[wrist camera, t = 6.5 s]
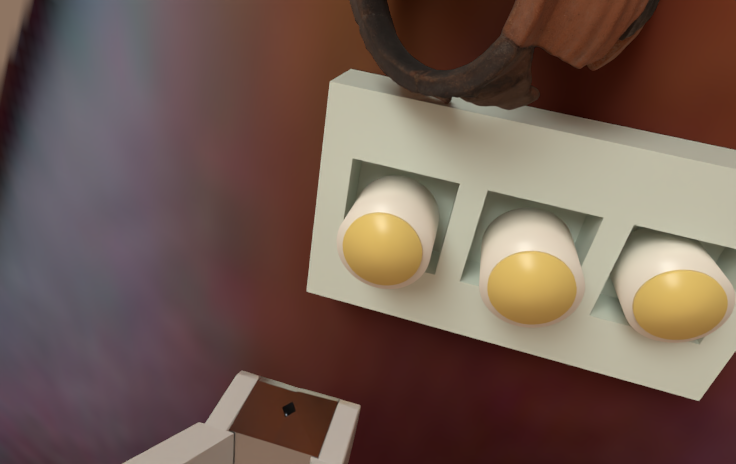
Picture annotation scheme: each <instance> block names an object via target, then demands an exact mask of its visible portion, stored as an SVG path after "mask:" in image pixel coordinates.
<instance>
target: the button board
mask: <svg viewBox="0 0 736 464" xmlns="http://www.w3.org/2000/svg"><path fill="white" fill-rule="evenodd" d="M390 175H400V176H405V177H409V178H412V179H414V180H416V181H418V182H419V183H421V184H422V185H424V186H425V187H426V188H427V189H428V190H429V191H430V192H431V194H432V195H433V197H434V198H435V200H436V202H437V205H438V209H439V224H438V229H437V233H436V237H435V241H434V245H433V249H432V253H431V258H430V262H429V264H428V267H427V269H426V271H425V272H424V273H423V275H422V276H421V277H420V278H419V279H418V280H416V281H415V282H414V283H412V284H410V285H408V286H405V287H402V288H397V289H381V288H376V287H373V286H370V285H367V284H365V283H363V282H361V281H360V280H358V279H357V278H355V277H354V276H353V275H352V274H351V273H350V272H349V271H348V270H347V269H346V268H345V266H344V265H343V263H342V261H341V259H340V257H339V254H338V251H337V243H336V241H337V233H338V230H339V227H340V225H341V224H342V222H343V220H344V219H345V217H346V216H347V214H348V213H349V211H350V210H351V208H352V206H353V205H354V203H355V202H356V200H357V199H358V197H359V196H360V194H361V192H362V191H363V190H364V188H365V187H366V186H367V185H368V184H370V183H371V182H372V181H374V180H376V179H378V178H381V177H384V176H390ZM523 207H533V208H539V209H543V210H547V211H549V212H551V213H553V214H555V215H556V216H558V217H559V218H560V219H562V220H563V222H564V223H565V224H566V225H567V227H568V228H569V230H570V232H571V235H572V238H573V241H574V245H575V248H576V251H577V255H578V258H579V262H580V265H581V268H582V272H583V275H584V279H585V292H584V296H583V299H582V301H581V303H580V305H579V306H578V307H577V309H576V310H575V311H574V312H573V313H572V314H571V315H570V316H568V317H567V318H565V319H564V320H562V321H560V322H558V323H555V324H553V325H549V326H545V327H537V328H527V327H520V326H515V325H512V324H509V323H507V322H505V321H503V320H501V319H499V318H498V317H496V316H495V315H494V314H493V313H492V312H491V311H490V310H489V309H488V308H487V307H486V305H485V304H484V302H483V300H482V298H481V295H480V291H479V277H480V260H481V244H482V238H483V235H484V232H485V230H486V229H487V227H488V226H489V224H490V223H491V222H492V221H493V220H494V219H495V218H497V217H498V216H499V215H501V214H503V213H505V212H507V211H510V210H513V209H517V208H523ZM643 227H645V228H649V229H654V230H658V231H662V232H666V233H670V234H675V235H679V236H683V237H687V238H692V239H696V240H698V241H699V242H700V244H701V245H702V246H703V247H704V249H705V250H706V251H707V253H708V254H709V255H710V256H711V258H712V259H713V260H714V262H715V263H716V264H717V266H718V267H719V268H720V269H721V271H722V272H723V273H724V275H725V276H726V277H727V278H728V280H729V281H730V283H731V284H732V286H733V289H734V291H735V306H734V309H733V312H732V313H731V315H730V317H729V318H728V320H727V321H726V322H725V323H724V324H723V325H722V326H721V327H720V328H718V329H717V330H716V331H714V332H712V333H711V334H709V335H707V336H705V337H702V338H699V339H696V340H693V341H688V342H680V343H668V342H661V341H656V340H653V339H650V338H647V337H645V336H643V335H641V334H640V333H638V332H637V331H636V330H634V329H633V327H632V326H631V325H630V324H629V323H628V321H627V319H626V317H625V314H624V312H623V309H622V306H621V304H620V301H619V299H618V296H617V293H616V291H615V288H614V286H613V283H612V280H611V278H610V275H609V274H610V272H611V270H612V268H613V266H614V264H615V262H616V260H617V258H618V256H619V254H620V252H621V250H622V248H623V246H624V244H625V242H626V240H627V238H628V236H629V234H630V233H631V232H633V231H635V230H637V229H640V228H643ZM307 292H310V293H314V294H317V295H321V296H325V297H328V298H332V299H335V300H339V301H342V302H346V303H350V304H353V305H357V306H360V307H364V308H368V309H371V310H375V311H378V312H382V313H385V314H389V315H393V316H396V317H400V318H403V319H407V320H411V321H414V322H418V323H421V324H425V325H428V326H432V327H436V328H439V329H443V330H446V331H450V332H454V333H457V334H461V335H464V336H468V337H471V338H475V339H479V340H482V341H486V342H489V343H493V344H497V345H500V346H504V347H507V348H511V349H514V350H518V351H522V352H525V353H529V354H532V355H536V356H539V357H543V358H547V359H550V360H554V361H557V362H561V363H565V364H568V365H572V366H575V367H579V368H582V369H586V370H590V371H593V372H597V373H600V374H604V375H608V376H611V377H615V378H618V379H622V380H625V381H629V382H633V383H636V384H640V385H643V386H647V387H651V388H654V389H658V390H661V391H665V392H668V393H672V394H676V395H679V396H683V397H686V398H690V399H694V400H697V401H699V400H700V399H701V398H702V396H703V395H704V393H705V392H706V391H707V389H708V388H709V387H710V385H711V384H712V382H713V381H714V380H715V378H716V377H717V376H718V374H719V373H720V371H721V370H722V369H723V367H724V366H725V365H726V363H727V362H728V360H729V359H730V358H731V356H732V355H733V354H734V352H735V351H736V150H733V149H728V148H723V147H718V146H714V145H709V144H704V143H699V142H695V141H690V140H685V139H681V138H676V137H671V136H666V135H662V134H657V133H652V132H647V131H643V130H638V129H633V128H628V127H624V126H619V125H614V124H609V123H605V122H600V121H595V120H590V119H586V118H581V117H576V116H572V115H567V114H562V113H557V112H553V111H548V110H543V109H538V108H534V107H529V106H522V107H519V108H516V109H513V110H505V109H502V108H499V107H497V106H487V107H485V106H477V105H475V104H473V103H470V102H466V101H464V100H463V99H461V98H460V97H459V98H456V97H452V100H451V101H450V102H449V103H448V104H447V103H444V102H443V101H441V100H439V99H437V98H435V97H432V96H425V95H421V94H420V93H411V92H410V91H408V90H407V89H405V88H404V87H401V86H400V85H398V84H397V83H395V82H394V81H393V80H392V79H391V78H390V77H387V76H382V75H377V74H372V73H368V72H363V71H358V70H354V69H350V70H348V71H347V72H345V73H343V74H342V75H340V76H338V77H337V78H335V79H333V80H331V81H330V85H329V94H328V103H327V112H326V121H325V130H324V139H323V148H322V157H321V166H320V174H319V183H318V192H317V201H316V210H315V219H314V228H313V237H312V246H311V255H310V264H309V273H308V282H307Z"/></svg>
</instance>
